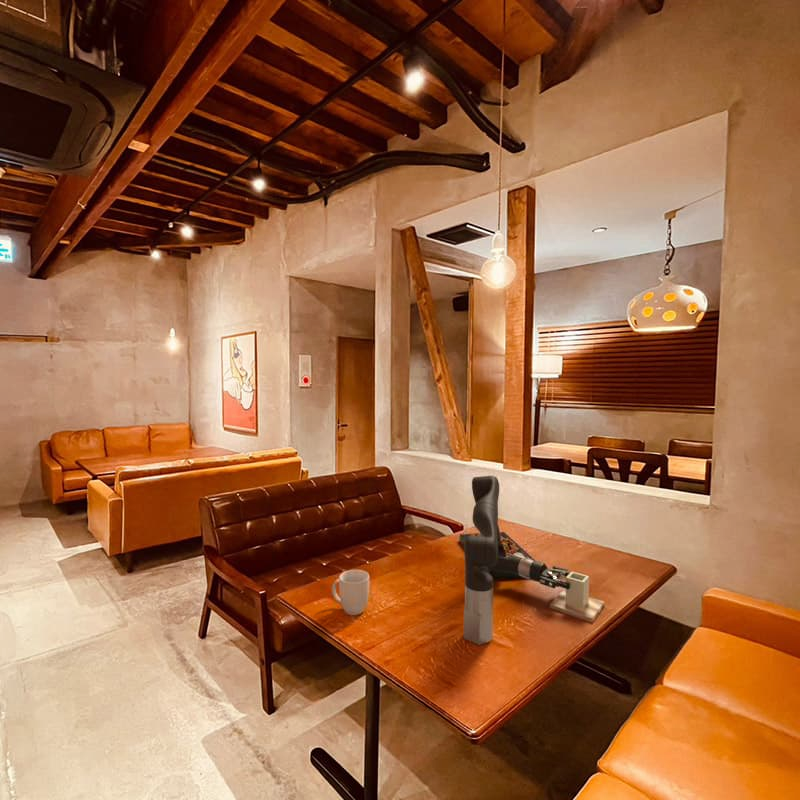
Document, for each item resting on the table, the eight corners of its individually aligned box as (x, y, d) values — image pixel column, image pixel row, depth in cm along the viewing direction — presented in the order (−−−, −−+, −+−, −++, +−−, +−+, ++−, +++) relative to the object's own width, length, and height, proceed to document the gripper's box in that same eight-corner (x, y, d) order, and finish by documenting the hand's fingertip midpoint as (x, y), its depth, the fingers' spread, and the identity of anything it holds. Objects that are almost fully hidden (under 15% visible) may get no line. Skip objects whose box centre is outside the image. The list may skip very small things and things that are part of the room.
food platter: (543, 577, 188) (543, 554, 187) (489, 581, 184) (489, 557, 184) (503, 539, 232) (504, 520, 232) (459, 542, 229) (459, 523, 228)
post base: (592, 622, 152) (592, 598, 152) (549, 608, 162) (550, 585, 161) (604, 605, 163) (604, 583, 163) (564, 592, 173) (564, 572, 173)
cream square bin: (583, 609, 158) (583, 582, 157) (565, 603, 162) (565, 577, 162) (588, 602, 163) (589, 576, 162) (571, 596, 167) (571, 571, 166)
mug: (324, 612, 159) (324, 577, 158) (340, 598, 169) (340, 565, 168) (360, 621, 153) (360, 585, 152) (374, 606, 163) (374, 572, 162)
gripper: (524, 566, 168) (567, 579, 157) (539, 555, 179) (580, 566, 168) (524, 585, 168) (566, 599, 158) (539, 573, 179) (579, 585, 169)
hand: (573, 582), depth 163 cm, fingers open, 8 cm apart
